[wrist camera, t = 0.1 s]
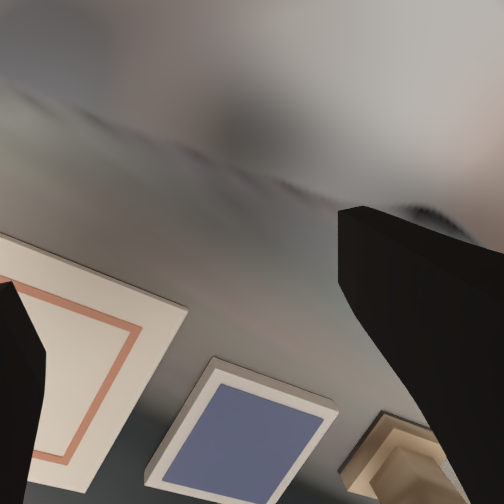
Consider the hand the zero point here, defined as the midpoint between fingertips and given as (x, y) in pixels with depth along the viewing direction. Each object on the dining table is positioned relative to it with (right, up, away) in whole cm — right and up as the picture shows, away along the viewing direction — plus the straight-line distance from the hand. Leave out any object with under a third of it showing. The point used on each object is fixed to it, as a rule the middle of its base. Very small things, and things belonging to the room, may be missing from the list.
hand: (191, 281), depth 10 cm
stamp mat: (-10, -5, +11) cm, 16 cm away
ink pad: (+1, -10, +16) cm, 18 cm away
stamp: (+10, -12, +19) cm, 25 cm away
